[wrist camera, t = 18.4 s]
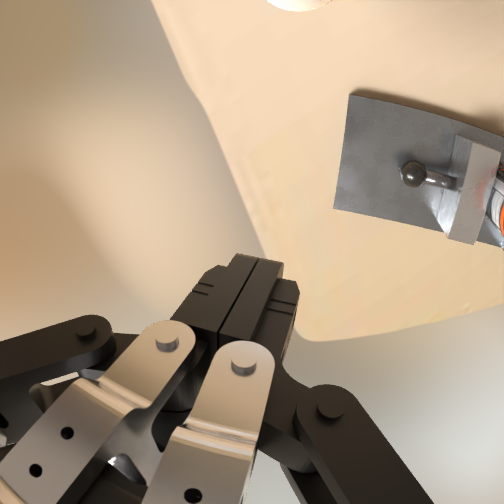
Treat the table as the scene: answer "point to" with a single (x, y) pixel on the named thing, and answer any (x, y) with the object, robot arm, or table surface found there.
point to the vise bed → (401, 162)
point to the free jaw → (460, 187)
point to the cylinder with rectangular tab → (298, 4)
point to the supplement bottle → (497, 201)
